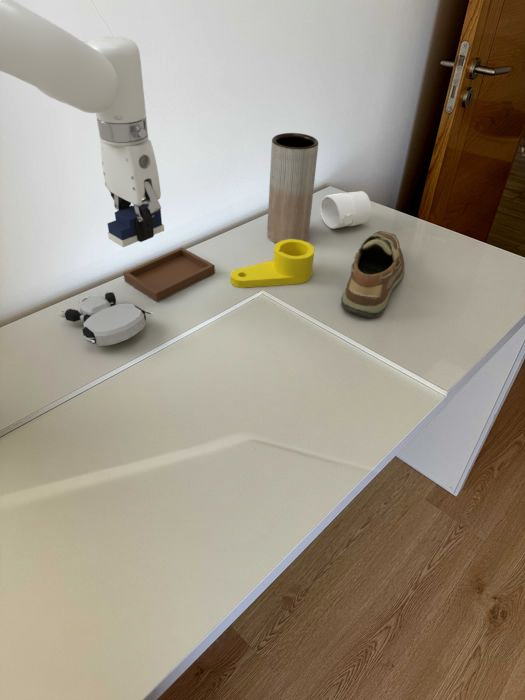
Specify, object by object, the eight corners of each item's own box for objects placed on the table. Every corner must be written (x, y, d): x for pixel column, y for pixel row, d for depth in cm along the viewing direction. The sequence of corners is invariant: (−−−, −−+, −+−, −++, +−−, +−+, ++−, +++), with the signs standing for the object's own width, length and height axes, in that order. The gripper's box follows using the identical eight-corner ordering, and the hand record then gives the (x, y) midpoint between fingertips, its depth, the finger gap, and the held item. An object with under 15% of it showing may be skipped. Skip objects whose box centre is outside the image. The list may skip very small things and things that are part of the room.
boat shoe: (407, 257, 122) (417, 214, 115) (392, 327, 100) (403, 280, 94) (360, 248, 124) (367, 206, 117) (336, 316, 103) (343, 269, 96)
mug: (369, 230, 131) (375, 199, 126) (337, 236, 128) (341, 205, 123) (345, 210, 140) (349, 181, 135) (314, 215, 137) (317, 185, 132)
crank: (302, 261, 118) (304, 237, 115) (317, 280, 112) (320, 255, 109) (225, 273, 113) (225, 248, 109) (237, 293, 107) (237, 268, 103)
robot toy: (58, 326, 98) (99, 361, 89) (51, 306, 95) (94, 340, 87) (115, 302, 105) (159, 332, 96) (111, 282, 102) (156, 311, 93)
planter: (272, 248, 123) (278, 149, 108) (262, 228, 130) (266, 133, 115) (313, 244, 125) (324, 147, 110) (301, 225, 132) (310, 131, 117)
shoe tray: (157, 302, 104) (156, 293, 103) (124, 281, 109) (123, 272, 108) (214, 273, 113) (214, 265, 112) (182, 255, 118) (181, 247, 117)
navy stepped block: (149, 222, 98) (147, 200, 96) (164, 230, 96) (162, 208, 93) (108, 238, 93) (104, 215, 90) (123, 247, 91) (119, 224, 88)
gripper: (176, 137, 81) (183, 243, 93) (112, 112, 89) (126, 212, 101) (136, 148, 77) (149, 258, 88) (72, 120, 85) (92, 224, 97)
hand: (136, 233), depth 95 cm, fingers closed on navy stepped block, 4 cm apart
